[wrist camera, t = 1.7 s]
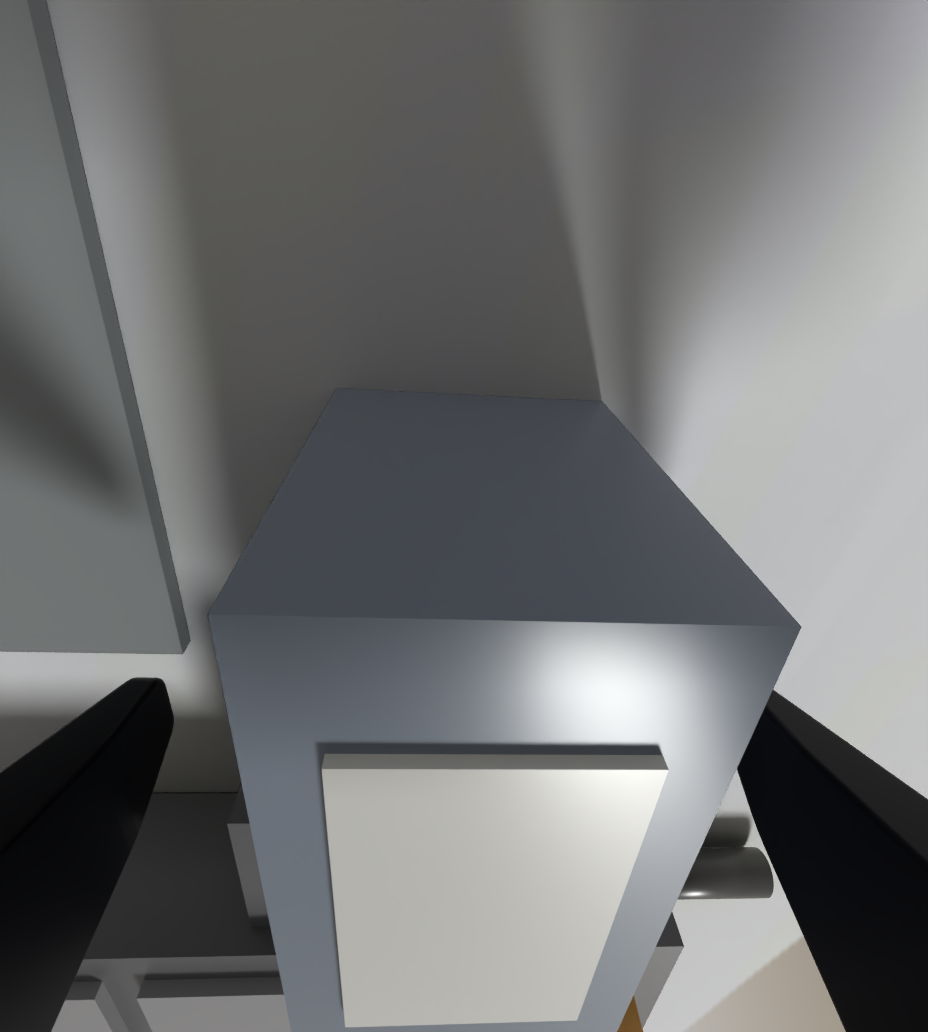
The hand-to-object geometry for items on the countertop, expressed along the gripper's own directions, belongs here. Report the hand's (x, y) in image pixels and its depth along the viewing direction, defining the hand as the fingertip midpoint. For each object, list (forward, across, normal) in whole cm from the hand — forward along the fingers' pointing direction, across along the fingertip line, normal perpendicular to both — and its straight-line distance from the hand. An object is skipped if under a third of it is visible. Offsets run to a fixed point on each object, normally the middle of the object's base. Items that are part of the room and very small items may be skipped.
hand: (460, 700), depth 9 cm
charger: (+3, 0, 0) cm, 3 cm away
